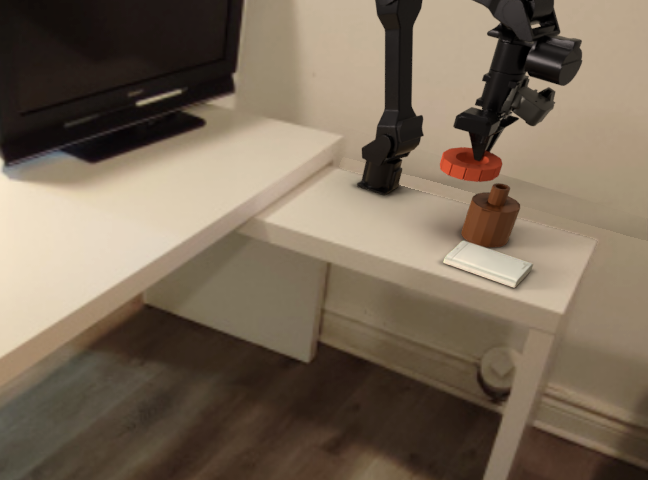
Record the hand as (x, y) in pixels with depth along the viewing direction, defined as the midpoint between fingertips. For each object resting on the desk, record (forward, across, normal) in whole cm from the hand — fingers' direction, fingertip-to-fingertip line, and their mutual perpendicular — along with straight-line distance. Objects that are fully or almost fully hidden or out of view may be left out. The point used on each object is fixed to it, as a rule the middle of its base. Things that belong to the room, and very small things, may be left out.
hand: (480, 158), depth 142 cm
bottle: (+13, -1, -5) cm, 14 cm away
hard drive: (+14, -12, -10) cm, 21 cm away
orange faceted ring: (+1, -4, 0) cm, 4 cm away
